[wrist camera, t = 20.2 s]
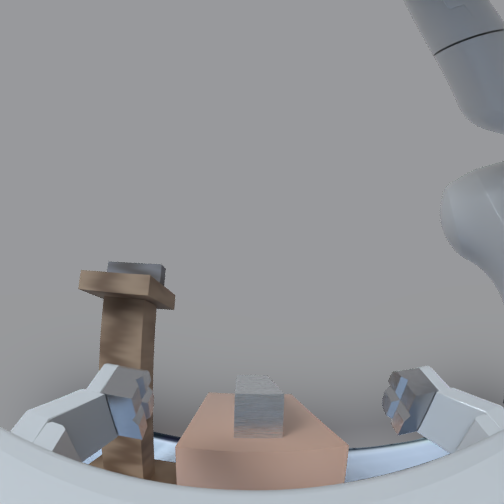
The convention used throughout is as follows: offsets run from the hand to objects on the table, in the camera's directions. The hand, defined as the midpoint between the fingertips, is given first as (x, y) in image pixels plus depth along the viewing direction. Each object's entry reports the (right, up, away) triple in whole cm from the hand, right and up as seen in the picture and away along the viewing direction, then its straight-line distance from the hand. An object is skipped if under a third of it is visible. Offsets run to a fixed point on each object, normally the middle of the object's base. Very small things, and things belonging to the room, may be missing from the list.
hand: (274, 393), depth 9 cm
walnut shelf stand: (-15, -24, +16) cm, 33 cm away
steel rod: (-1, -7, +12) cm, 14 cm away
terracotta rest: (-1, -21, +5) cm, 22 cm away
